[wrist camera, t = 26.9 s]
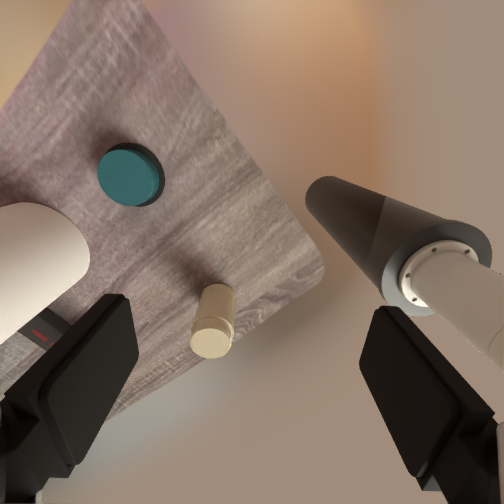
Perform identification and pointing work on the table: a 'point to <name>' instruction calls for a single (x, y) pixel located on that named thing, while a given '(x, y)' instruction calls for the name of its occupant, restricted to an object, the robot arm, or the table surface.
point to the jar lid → (128, 176)
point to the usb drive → (45, 329)
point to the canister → (36, 261)
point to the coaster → (155, 162)
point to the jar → (214, 322)
